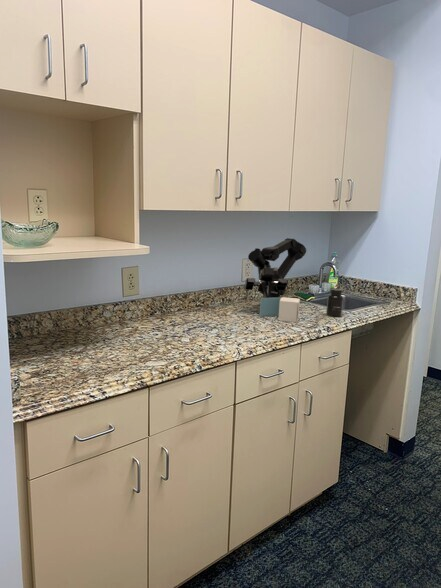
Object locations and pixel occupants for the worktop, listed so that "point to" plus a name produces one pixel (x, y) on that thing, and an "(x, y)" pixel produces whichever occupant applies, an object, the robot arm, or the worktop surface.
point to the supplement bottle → (335, 303)
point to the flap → (269, 306)
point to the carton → (289, 309)
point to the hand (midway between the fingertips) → (268, 299)
